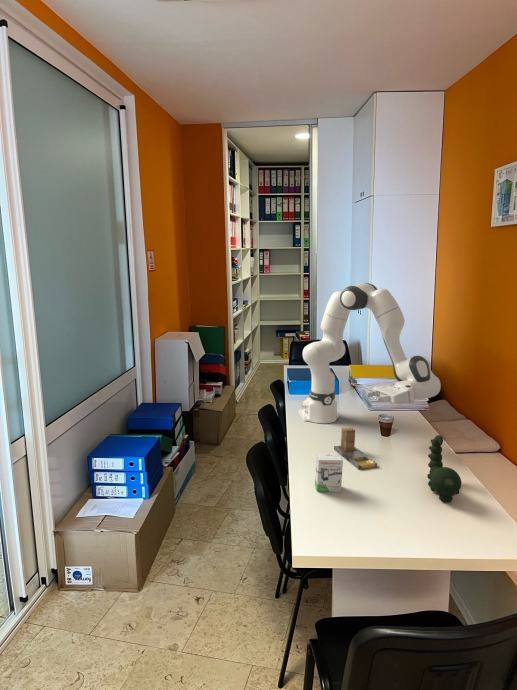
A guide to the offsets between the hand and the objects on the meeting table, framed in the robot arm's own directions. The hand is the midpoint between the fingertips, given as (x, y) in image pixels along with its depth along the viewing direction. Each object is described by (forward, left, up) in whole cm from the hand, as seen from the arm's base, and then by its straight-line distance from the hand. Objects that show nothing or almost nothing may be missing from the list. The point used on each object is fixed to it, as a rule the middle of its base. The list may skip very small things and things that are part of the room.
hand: (372, 397), depth 204 cm
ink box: (+26, -32, -23) cm, 48 cm away
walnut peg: (0, -10, -22) cm, 25 cm away
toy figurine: (+40, +4, -23) cm, 46 cm away
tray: (+6, -10, -22) cm, 25 cm away
